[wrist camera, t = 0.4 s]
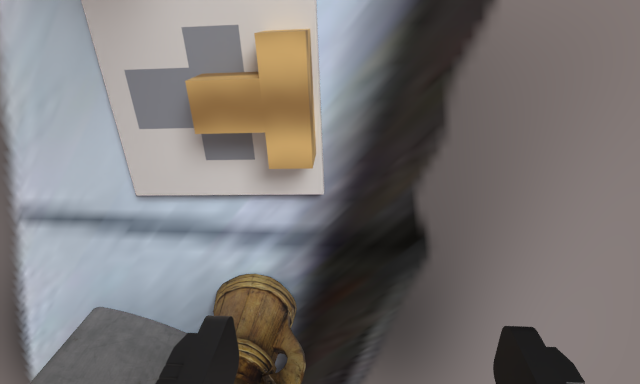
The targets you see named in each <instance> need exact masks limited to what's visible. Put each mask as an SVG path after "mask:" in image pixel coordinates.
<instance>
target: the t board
mask: <svg viewBox="0 0 640 384" xmlns="http://www.w3.org/2000/svg"><path fill="white" fill-rule="evenodd" d="M81 2H82V5H83V9H84V12H85V16H86V19H87V23H88V27H89V30H90V34H91V37H92V41H93V44H94V48H95V51H96V55H97V58H98V62H99V65H100V69H101V72H102V76H103V80H104V83H105V87H106V90H107V94H108V97H109V101H110V104H111V108H112V111H113V115H114V118H115V122H116V125H117V129H118V132H119V136H120V140H121V143H122V147H123V150H124V154H125V157H126V161H127V164H128V168H129V171H130V175H131V178H132V182H133V185H134V189H135V192H136V196H143V195H296V194H324V168H323V144H322V119H321V95H320V71H319V47H318V23H317V0H81ZM291 29H310V36H311V56H312V77H313V97H314V117H315V137H316V157H315V161H314V165H313V168H310V169H269V164H268V155H267V145H266V136H265V133H220V134H195V130H194V125H193V120H192V114H191V109H190V104H189V99H188V94H187V88H186V83H185V81H186V80H188V79H191V78H193V77H195V76H198V75H200V74H205V73H235V72H258V63H257V54H256V44H255V35H254V33H257V32H261V31H268V30H291Z"/></svg>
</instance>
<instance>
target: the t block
mask: <svg viewBox="0 0 640 384" xmlns="http://www.w3.org/2000/svg"><path fill="white" fill-rule="evenodd" d="M254 35H255V44H256V54H257V63H258V72H235V73H205V74H200V75H198V76H195V77H193V78H191V79H188V80H186V81H185V83H186V88H187V94H188V99H189V104H190V109H191V114H192V120H193V125H194V130H195V134H220V133H265V136H266V145H267V155H268V164H269V169H310V168H313V165H314V161H315V157H316V137H315V117H314V97H313V77H312V56H311V36H310V29H291V30H268V31H261V32H257V33H254Z"/></svg>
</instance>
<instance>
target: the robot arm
mask: <svg viewBox="0 0 640 384" xmlns="http://www.w3.org/2000/svg"><path fill="white" fill-rule="evenodd" d="M238 365H239V348H238V342H237V336H236V330H235V325H234V319H233V317H232V316H207V317H206V318H205V319H204V321H203V323H202V325H201V328H200V330H199V332H198V333H187V334H186V335H185V336H184V337H183V338H182V339H181V340H180V341H179V342H178V343H177V344H176V345H175V346H174V348H173V350H172V352H171V354H170V356H169V358H168V360H167V362H166V366H164V368H163V370H162V372H161V373H160V375H159V380H157V381H156V383H155V384H234V381H235V377H236V374H237V370H238ZM493 370H494V378H495V382H496V384H585V381H584V380H583V378H582V377H581V375H580V373H579V372H578V370H577V369H576V367H575V365H574V364H573V363H572V362H571V361H570V360H569V359H568V358H567V357H566V356H565V355H563V354H562V353H561V352H560V351H559V350H558V349H557V348H556V347H546V346H545V344H544V343H543V341H542V339H541V337H540V336H539V334H538V332H537V331H536V330H535V328H533V327H518V326H504V327H503V329H502V332H501V336H500V339H499V343H498V347H497V351H496V355H495V359H494V367H493Z"/></svg>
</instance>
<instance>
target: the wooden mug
mask: <svg viewBox="0 0 640 384" xmlns="http://www.w3.org/2000/svg"><path fill="white" fill-rule="evenodd" d="M296 310H297V308H296V303H295V300H294V298H293V297H292V295H291V294H290V293H289V291H288V290H287V289H286V288H285V287H284V286H283V285H282V284H281V283H279V282H278V281H276V280H274V279H273V278H271V277H268V276H263V275H258V274H245V275H240V276H237V277H235V278H233V279H231V280H229V281H227V282H226V283H224V284H222V286H221V287H220V288H219V290H218V291H217V295H216V300H215V305H214V311H213V312H214V316H232V317H233V319H234V325H235V330H236V336H237V342H238V348H239V365H238V370H237V374H236V377H235V381H234V384H301V382H302V380H303V376H304V371H305V354H304V352H303V350H302V348H301V345H300V343H299V342H298V340H297V339H296V337H295V336H294V334H293V333H292V330H291V326H292V323H293V320H294V317H295V314H296ZM279 353H282V354H285V355H286V356H287V358H288V360H287V364H286V365H285V367H284V368H283V369H282V370H281V371H280V372H278V373H275V371H276V367H275V361H276V358H277V355H278V354H279Z"/></svg>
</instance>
